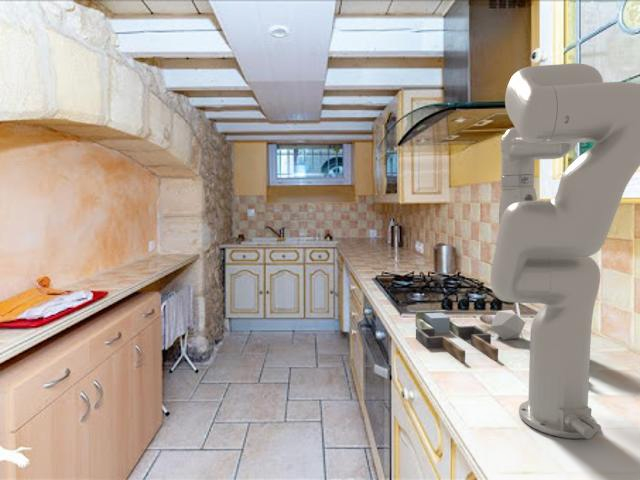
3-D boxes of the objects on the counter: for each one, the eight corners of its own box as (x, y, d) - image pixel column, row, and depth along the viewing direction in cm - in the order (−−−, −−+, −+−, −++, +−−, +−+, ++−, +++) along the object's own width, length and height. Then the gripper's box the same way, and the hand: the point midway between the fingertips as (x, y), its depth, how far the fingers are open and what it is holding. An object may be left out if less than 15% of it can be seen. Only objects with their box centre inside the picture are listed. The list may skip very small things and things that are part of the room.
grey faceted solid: (511, 334, 132) (491, 308, 133) (535, 326, 125) (514, 299, 126) (500, 349, 126) (480, 322, 127) (525, 342, 119) (503, 314, 120)
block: (449, 332, 132) (449, 317, 131) (431, 333, 131) (431, 318, 131) (441, 327, 138) (442, 312, 137) (424, 328, 137) (424, 313, 137)
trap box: (514, 359, 108) (514, 340, 108) (444, 363, 106) (444, 344, 106) (456, 324, 141) (457, 309, 141) (402, 326, 139) (402, 311, 138)
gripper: (551, 181, 98) (548, 259, 99) (513, 184, 113) (511, 252, 114) (521, 181, 97) (519, 260, 98) (487, 185, 112) (486, 253, 113)
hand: (515, 255), depth 106 cm, fingers closed
